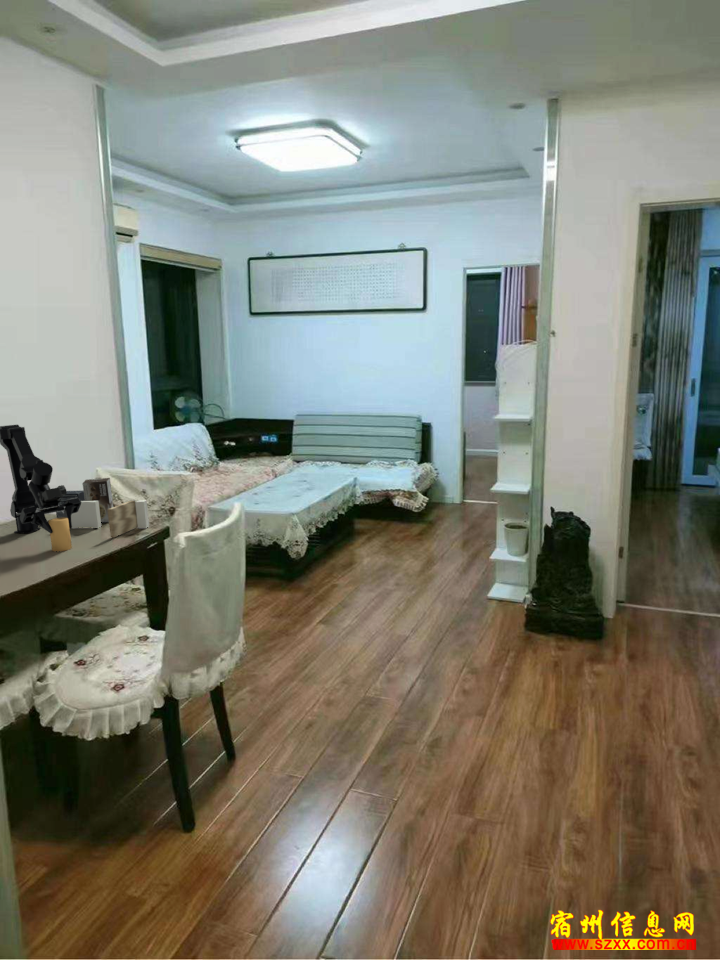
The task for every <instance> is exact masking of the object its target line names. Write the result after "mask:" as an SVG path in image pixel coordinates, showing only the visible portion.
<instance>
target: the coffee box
mask: <svg viewBox="0 0 720 960" xmlns="http://www.w3.org/2000/svg"><path fill="white" fill-rule="evenodd" d="M82 488H83V490H82V491H84V498H85V501H99V509H100V518H101V522H102V523H109V519H108V510H107V509H110V508H112V507H114V502H113V493H112V485H111V477H103V478H91V479H85V480H84V481H83V482H82Z"/></svg>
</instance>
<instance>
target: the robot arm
mask: <svg viewBox="0 0 720 960" xmlns="http://www.w3.org/2000/svg"><path fill="white" fill-rule="evenodd" d="M26 435H27V434H26V429H25V426H20V425H19V424H9V425H0V445H1V446H2V447H3V448H4V450H6V453H7V457H8V463H9V467H10V471H11V472H10V473H11V476H12V481H13V485H14V486H13V487H14V492H13V494H12V497H11V500H12V501H11V504H10V509H9V510H10V511H9V512H10V515H11V517H13V518H14V519H15V524H16V530H15V531H14V532H13V533H14V534H32V533H33V532H36V531H38V530H39V531H40V530H41V528H42V529H43V530H45V531H46V532H48V533H49V534H50V533H52V532H53V531H52V529H51V527H50V525H49V522H48V521H49V520H47V518H46V515H48V514H53V513H56V512H58V511H62V512H63V516H62V517H65V518H68V521H69V529H70V530H71V529H73V528H72V523H71V515H72V514H73V513H76V512H78V510H79V508H80V505H81V501H80V499H79V498H71V499H67V500H66V503H65V504H62V505H59V504H58V503H60V501H61V500H60V498H61V497H63V495H65V494H66V493H67V491H68V490H67V488H66V487H65V485H62V484H61V485H58V486H56V487H55V488H54V487H53V488H51V487H50V485H49V483H50V482H51V479H52V474H53V466H52V465H51V464H49V463H48V462H46V461H45V462H44V460H43V459H41V458H39V457H37V456H36V455H35V454H34V452H33V450H32V447H31V445H30V442H29V440H28V438H27V436H26Z"/></svg>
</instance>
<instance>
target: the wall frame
mask: <svg viewBox="0 0 720 960" xmlns="http://www.w3.org/2000/svg"><path fill="white" fill-rule="evenodd" d="M147 501H148V500H146V499H142V500H141V499H139V500H135V505H136V514H137V524H138V527H137V529H148V528H149V527H150V520H149V518H150V517H149V509H148V508H149V507H148V502H147ZM71 523H72V528H71V529H79V528H78V527H93V528H98V529H100V528H102V527H101V526H102V523H101V518H100V509H99V501H81V505H80V508H79V510H78V512H76V513H73V514H72V515H71ZM99 527H100V528H99ZM147 527H148V528H147ZM93 528H92V529H93Z"/></svg>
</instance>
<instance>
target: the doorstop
mask: <svg viewBox="0 0 720 960" xmlns="http://www.w3.org/2000/svg"><path fill="white" fill-rule="evenodd" d="M47 521H48V523H49V525H50V527H51V529H52V531H53V532H52V533H49V536H50V544H51V551H52V552H55V553H56V551H57V553H59V551H60V552H66V551H69V550H71V549H73V546H72V537H71V531H70V530H71V529H70V528H69V521H68V518H65V517H61V518H57V517H54V518H50V519H49V520H47Z"/></svg>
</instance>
